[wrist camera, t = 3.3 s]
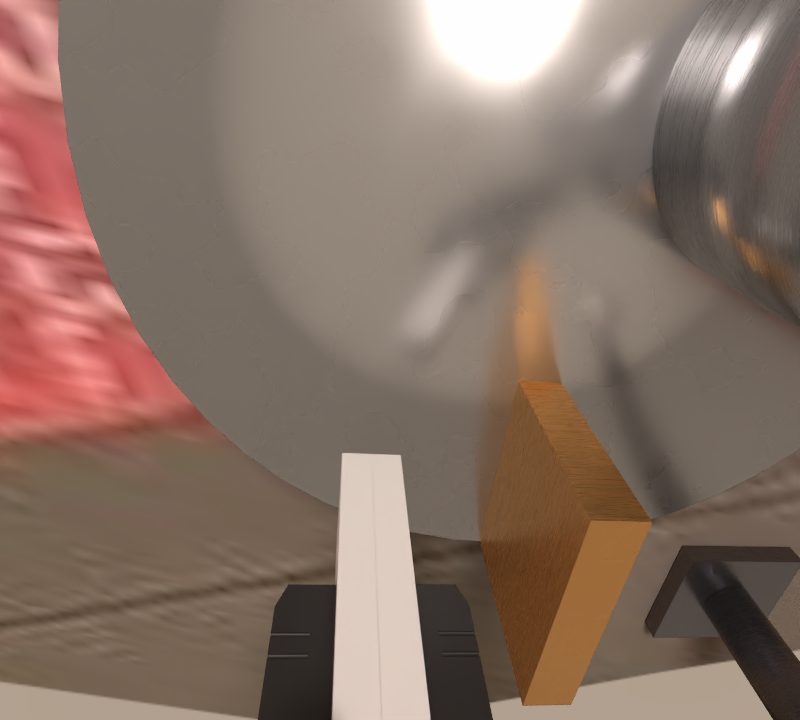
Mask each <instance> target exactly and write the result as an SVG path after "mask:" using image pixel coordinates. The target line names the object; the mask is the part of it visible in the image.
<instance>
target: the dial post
mask: <svg viewBox="0 0 800 720" xmlns="http://www.w3.org/2000/svg"><path fill="white" fill-rule="evenodd" d="M799 568H800V558H799V557H798V556H797V555H796V554H795V553H794V552H793V550H792V549H791V548H789V547H725V546H682V548H681V550H680V552H679V554H678V556H677V558H676V560H675V562H674V564H673V566H672V568H671V570H670V572H669V574H668V576H667V578H666V580H665V582H664V584H663V586H662V589H661V591H660V593H659V595H658V597H657V599H656V601H655V603H654V605H653V607H652V609H651V611H650V613H649V615H648V617H647V619H646V621H645V622H646V624H647V626H648V628H649V630H650V632H651V634H652V636H653V638H684V637H721V639H722V640H723V642H724V643H725V645H726V646H727V648H728V650H729V651H730V653H731V654H732V656H733V657H734V659H735V660H736V662H737V664H738V665H739V667H740V668H741V670H742V671H743V673H744V674H745V676H746V678H747V679H748V681H749V682H750V684H751V685H752V687H753V689H754V690H755V692H756V693H757V695H758V696H759V698H760V700H761V701H762V703H763V704H764V706H765V707H766V709H767V711H768V712H769V714H770V715H771V717H772V718H773V720H800V661H799V660H798V659H797V657H796V656H795V655H794V653H793V652H792V651H791V649H790V648H789V647H788V645H787V644H786V642H785V641H784V640H783V638H782V637H781V636H780V634H779V633H778V632H777V630H776V629H775V628H774V626H773V625H772V624H771V622H770V621H769V620H768V618H767V617H768V615H769V614H770V612H771V611H772V609H773V608H774V606H775V605H776V603H777V602H778V600H779V599H780V597H781V596H782V594H783V593H784V591H785V590H786V588H787V587H788V585H789V584H790V582H791V580H792V579H793V577H794V576H795V574H796V573H797V571H798V570H799Z"/></svg>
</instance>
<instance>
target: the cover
mask: <svg viewBox="0 0 800 720" xmlns="http://www.w3.org/2000/svg"><path fill="white" fill-rule="evenodd" d="M653 182H654V190H655V197H656V201H657V204H658V208H659V212H660V215H661V218H662V220H663V223H664V225H665V227H666V229H667V231H668V234H669V235H670V237H671V238H672V240H673V241H674V243H675V244H676V246H677V247H678V249H679V250H680V251H681V252H682V254H683V255H684V256H685V257H686V258H687V259H688V260H689V261H690V262H691V263H692V264H693V265H695V266H696V267H698V268H699V269H700V270H702V271H703V272H704V273H706V274H707V275H709V276H711V277H712V278H714V279H716V280H717V281H719V282H721V283H722V284H724V285H726V286H728V287H729V288H731V289H733V290H734V291H736V292H738V293H739V294H741V295H743V296H744V297H746V298H748V299H750V300H751V301H753V302H755V303H756V304H758V305H760V306H761V307H763V308H765V309H766V310H768V311H770V312H771V313H773V314H775V315H777V316H778V317H780V318H782V319H783V320H785V321H787V322H788V323H790V324H792V325H793V326H795V327H797V328H798V329H800V0H711V2H710V3H709V4H708V6H707V7H706V8H705V10H704V11H703V13H702V14H701V16H700V18H699V19H698V21H697V23H696V24H695V26H694V28H693V29H692V31H691V33H690V34H689V36H688V38H687V39H686V42H685V44H684V46H683V48H682V50H681V52H680V54H679V56H678V58H677V60H676V63H675V65H674V67H673V69H672V72H671V75H670V77H669V80H668V83H667V86H666V89H665V91H664V94H663V97H662V101H661V105H660V110H659V114H658V118H657V122H656V128H655V136H654V143H653Z"/></svg>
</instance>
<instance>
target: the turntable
mask: <svg viewBox="0 0 800 720" xmlns="http://www.w3.org/2000/svg"><path fill="white" fill-rule="evenodd" d="M710 2H711V0H59V39H58V62H59V71H60V79H61V88H62V96H63V105H64V114H65V122H66V131H67V140H68V145H69V149H70V153H71V157H72V161H73V165H74V169H75V173H76V177H77V182H78V186H79V190H80V194H81V198H82V202H83V206H84V210H85V214H86V217H87V219H88V222H89V225H90V227H91V230H92V233H93V235H94V238H95V241H96V243H97V246H98V248H99V251H100V254H101V256H102V259H103V262H104V264H105V267H106V269H107V272H108V275H109V277H110V279H111V281H112V283H113V285H114V287H115V289H116V291H117V293H118V295H119V296H120V298H121V300H122V302H123V304H124V306H125V308H126V310H127V312H128V313H129V315H130V317H131V319H132V321H133V323H134V325H135V327H136V329H137V330H138V332H139V334H140V335H141V337H142V338H143V340H144V341H145V343H146V344H147V345H148V347H149V348H150V350H151V351H152V353H153V354H154V356H155V357H156V358H157V360H158V361H159V363H160V364H161V366H162V367H163V368H164V370H165V371H166V373H167V374H168V376H169V377H170V379H171V380H172V381H173V382H174V383H175V385H176V386H177V387H178V388H179V389H180V390H181V391H182V392H183V394H184V395H185V396H186V397H187V398H188V399H189V400H190V401H191V402H192V404H193V405H194V406H195V407H196V408H197V409H198V410H199V411H200V413H201V414H202V415H203V416H204V417H205V418H206V419H207V420H208V421H209V422H210V423H211V424H212V425H213V426H214V427H215V428H217V429H218V430H219V431H220V432H221V433H222V434H223V435H225V436H226V437H227V438H228V439H229V440H230V441H231V442H233V443H234V444H235V445H236V446H237V447H238V448H239V449H241V450H242V451H243V452H244V453H245V454H246V455H248V456H249V457H251V458H252V459H253V460H255V461H256V462H258V463H259V464H261V465H262V466H264V467H265V468H266V469H268V470H269V471H271V472H272V473H274V474H275V475H277V476H278V477H280V478H281V479H282V480H284V481H285V482H287V483H289V484H291V485H293V486H295V487H296V488H298V489H300V490H302V491H304V492H306V493H308V494H310V495H311V496H313V497H315V498H317V499H319V500H321V501H323V502H325V503H326V504H329V505H331V506H334V507H336V508H339V495H340V479H341V464H342V453H358V454H386V455H401V462H402V471H403V479H404V488H405V497H406V506H407V515H408V524H409V532H413V533H419V534H425V535H431V536H437V537H443V538H449V539H456V540H472V541H480V544H481V548H482V552H483V556H484V559H485V563H486V567H487V571H488V575H489V578H490V582H491V586H492V590H493V594H494V598H495V601H496V605H497V609H498V613H499V617H500V620H501V624H502V628H503V632H504V636H505V640H506V643H507V647H508V651H509V655H510V659H511V662H512V666H513V670H514V674H515V678H516V682H517V685H518V689H519V693H520V697H521V701H522V705H523V706H527V705H571V703H572V701H573V699H574V697H575V695H576V692H577V690H578V688H579V686H580V683H581V681H582V679H583V677H584V674H585V672H586V670H587V668H588V665H589V663H590V661H591V659H592V656H593V654H594V652H595V650H596V647H597V645H598V643H599V640H600V638H601V636H602V634H603V631H604V629H605V627H606V625H607V622H608V620H609V618H610V616H611V613H612V611H613V609H614V607H615V604H616V602H617V600H618V598H619V595H620V593H621V591H622V589H623V586H624V584H625V582H626V580H627V577H628V575H629V573H630V571H631V568H632V566H633V564H634V562H635V559H636V557H637V555H638V553H639V550H640V548H641V546H642V544H643V541H644V539H645V537H646V535H647V532H648V530H649V528H650V525H651V523H652V521H651V520H650V519H653V518H656V517H660V516H663V515H666V514H669V513H672V512H675V511H678V510H680V509H683V508H685V507H688V506H690V505H693V504H695V503H697V502H700V501H702V500H705V499H707V498H710V497H712V496H715V495H717V494H719V493H721V492H723V491H725V490H727V489H729V488H731V487H733V486H735V485H737V484H739V483H741V482H743V481H745V480H747V479H749V478H751V477H753V476H755V475H757V474H759V473H761V472H763V471H764V470H766V469H768V468H769V467H771V466H773V465H774V464H776V463H778V462H779V461H781V460H782V459H784V458H786V457H787V456H789V455H791V454H792V453H794V452H796V451H797V450H799V449H800V329H798V328H797V327H795V326H793V325H792V324H790V323H788V322H787V321H785V320H783V319H782V318H780V317H778V316H777V315H775V314H773V313H771V312H770V311H768V310H766V309H765V308H763V307H761V306H760V305H758V304H756V303H755V302H753V301H751V300H750V299H748V298H746V297H744V296H743V295H741V294H739V293H738V292H736V291H734V290H733V289H731V288H729V287H728V286H726V285H724V284H722V283H721V282H719V281H717V280H716V279H714V278H712V277H711V276H709V275H707V274H706V273H704V272H703V271H702V270H700V269H699V268H698V267H696V266H695V265H693V264H692V263H691V262H690V261H689V260H688V259H687V258H686V257H685V256H684V255H683V254H682V252H681V251H680V250H679V249H678V247H677V246H676V244H675V243H674V241H673V240H672V238H671V237H670V235H669V234H668V231H667V229H666V227H665V225H664V223H663V220H662V218H661V215H660V212H659V208H658V204H657V201H656V197H655V190H654V182H653V143H654V136H655V128H656V122H657V118H658V114H659V110H660V105H661V101H662V97H663V94H664V91H665V89H666V86H667V83H668V80H669V77H670V75H671V72H672V69H673V67H674V65H675V63H676V60H677V58H678V56H679V54H680V52H681V50H682V48H683V46H684V44H685V42H686V39H687V38H688V36H689V34H690V33H691V31H692V29H693V28H694V26H695V24H696V23H697V21H698V19H699V18H700V16H701V14H702V13H703V11H704V10H705V8H706V7H707V6H708V4H709V3H710Z"/></svg>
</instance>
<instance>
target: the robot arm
mask: <svg viewBox="0 0 800 720" xmlns="http://www.w3.org/2000/svg"><path fill="white" fill-rule="evenodd" d="M478 652H479V651H478V646H477V641H476V636H475V635H474V627H473V622H472V617H471V612H470V608H469V605H468V603H467V602H466V600H465V599H464V597H463V596H462V594H461V593H460V591H459V590H458V588H457V587H456V585H435V584H415V577H414V568H413V559H412V550H411V541H410V533H409V524H408V515H407V506H406V497H405V488H404V479H403V471H402V462H401V455H386V454H358V453H342V464H341V479H340V495H339V511H338V526H337V548H336V572H335V585H288V586H287V588H286V589H285V591H284V593H283V594H282V596H281V598H280V599H279V601H278V602H277V604H276V606H275V609H274V616H273V623H272V629H271V637H270V643H269V649H268V658H267V662H266V669H265V676H264V682H263V689H262V696H261V702H260V709H259V715H258V720H493V718H492V713H491V708H490V704H489V699H488V694H487V689H486V684H485V680H484V675H483V670H482V665H481V660H480V657H479V654H478Z"/></svg>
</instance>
